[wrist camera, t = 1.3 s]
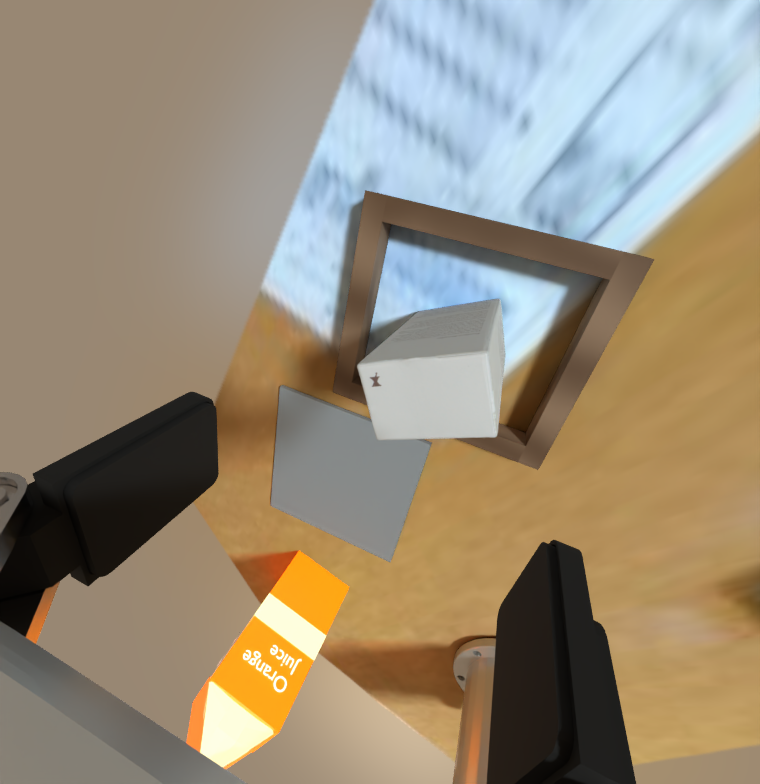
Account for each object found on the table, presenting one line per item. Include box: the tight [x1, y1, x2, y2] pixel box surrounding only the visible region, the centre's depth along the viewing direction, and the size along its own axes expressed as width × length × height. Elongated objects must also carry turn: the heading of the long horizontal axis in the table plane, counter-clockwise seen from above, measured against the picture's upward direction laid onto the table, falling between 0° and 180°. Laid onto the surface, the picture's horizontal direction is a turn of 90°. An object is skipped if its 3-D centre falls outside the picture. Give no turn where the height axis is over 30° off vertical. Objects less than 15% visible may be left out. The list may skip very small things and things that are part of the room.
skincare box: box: [357, 299, 505, 440], centre depth 21 cm, size 6×4×12 cm
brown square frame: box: [333, 190, 654, 470], centre depth 25 cm, size 15×17×2 cm
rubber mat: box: [271, 385, 432, 562], centre depth 36 cm, size 16×15×1 cm
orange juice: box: [187, 551, 349, 769], centre depth 37 cm, size 8×9×20 cm
